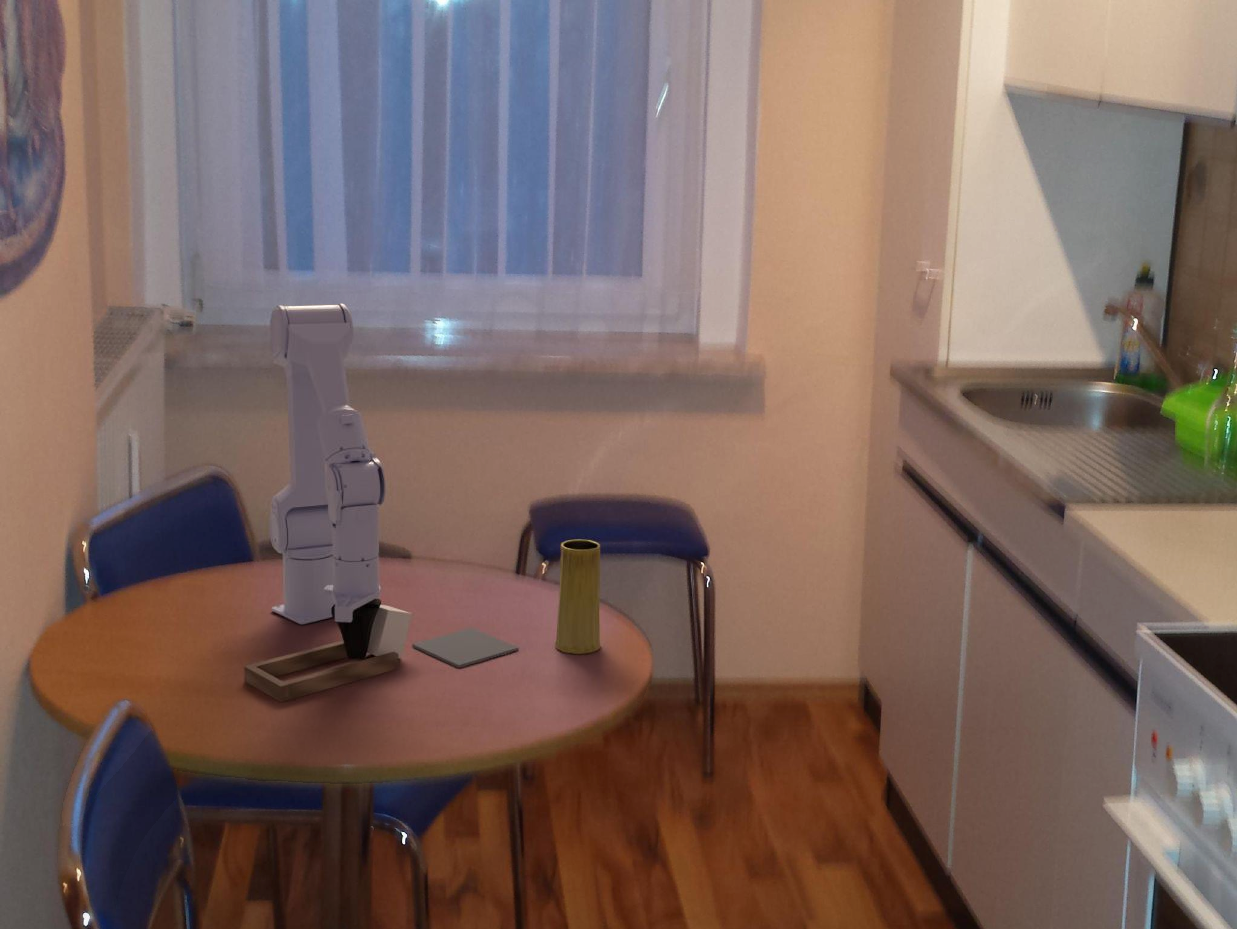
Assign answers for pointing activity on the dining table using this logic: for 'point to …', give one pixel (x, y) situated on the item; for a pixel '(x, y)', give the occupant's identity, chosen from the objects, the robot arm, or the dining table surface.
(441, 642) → the slate mat
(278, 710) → the dining table surface
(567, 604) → the vase
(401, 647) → the white block
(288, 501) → the robot arm
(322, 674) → the walnut channel
